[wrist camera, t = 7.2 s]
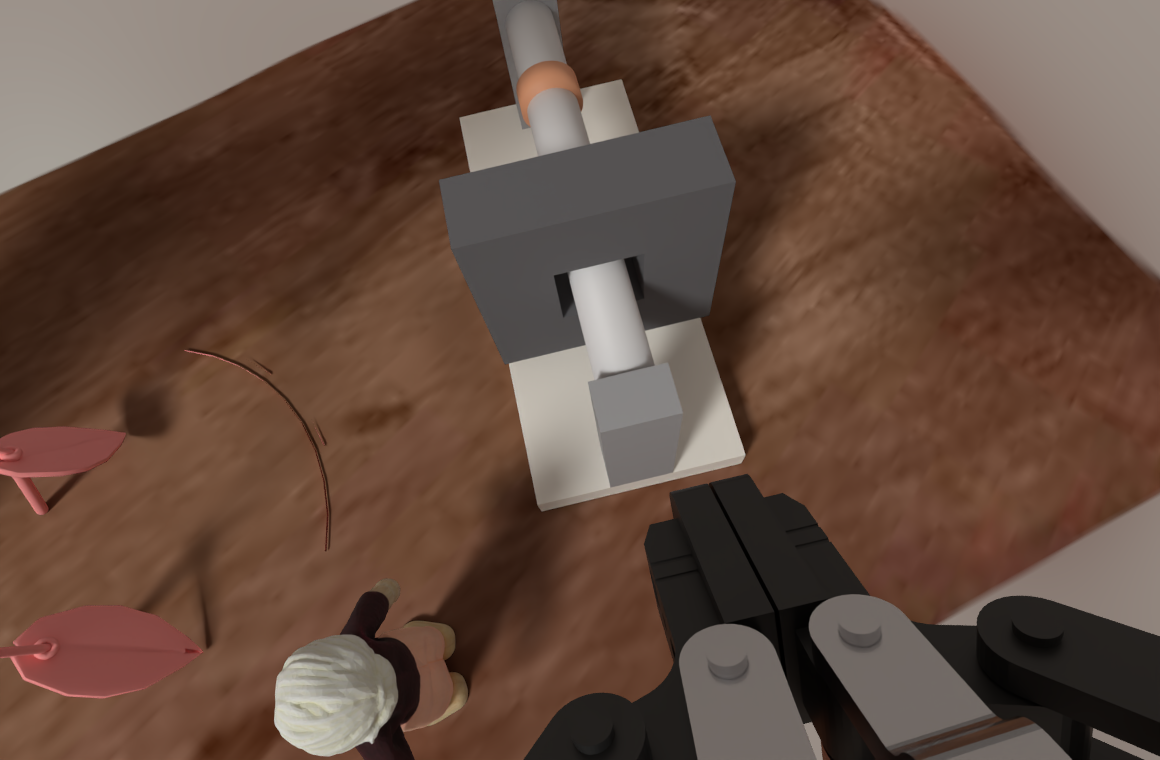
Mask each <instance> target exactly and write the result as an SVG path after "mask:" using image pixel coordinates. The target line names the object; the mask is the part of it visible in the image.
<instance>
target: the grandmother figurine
mask: <svg viewBox="0 0 1160 760" xmlns="http://www.w3.org/2000/svg"><path fill="white" fill-rule="evenodd" d="M399 595H400V586H399V584H398V583H397V582H396V581H395V580H393V579H383V580H381V581H379V582H378V583H377V584H376V586H375V587H374V588H372V589H371V590H370V591H369V592H366V593H364V594H363V595H362V596H361V597H360V599H359V601H358V602H357V604H356V606H355V608H354V610H353V612H352V614H351V616H350V618H349V620H348V622H347V624H346V625H345V627H344V628H343V630H342V632H341V634H340V635H336V636H330V637H327V638H325V639H319V640H315V641H313V642H311V643H309V644H308V645H306V646H305V647H301V648H299V649H298V650H296V651H295V652H294V653H293V654H292V656H290V657H289V658H288V659H287V660H286V662H285V664H284V667H283V670H282V671H281V672H280V673H279V675H278V677H277V682H276V691H275V700H276V705H275V717H274V722H275V725H276V727H277V729H278V730H279V731H280V734H281V735H282V737H283V738H285V739H286V740H287V741H288V742H290V743H291V744H292V745H294V746H296V747H297V748H301V749H304V750H305V751H306V752H308V753H310V754H314V755H319V756H331V755H334V754H340V753H344V752H346V751H348V750H350V749H352V748H354V747H356V749H357V750H358V751H359V753H360V754H361V755H362V757H363V758H364V760H415V759H414V757H413V755H412V752H411V750H410V747H409V745H408V743H407V741H406V739H405V737H404V734H403V732H405V731H410V730H414V729H417V728H422V727H425V726H431V725H433V724H436V723H437V722H439V721H441V720H443V719H444V718H446V717H447V716H449V715H451V714H452V713H454V712H456V711H457V710H459V709H460V708H462V707H463V706H464V704H465V703H466V701H467V698H468V689H467V685H466V682H465V680H464V678H463V676H462V675H460V674H459V673H456V672H448V669H447V666H446V663H445V661H444V660H446V659H448V658H449V657H450V656H451V655H452V654H453V652H454V649H455V634H454V631H453V630H452V628H451V627H450V626H448V625H446V624H441V623H434V622H427V621H412V622H409V623H407V624H406V625H404V626H403V628H401V629H395V630H392V631H388V632H385V633H382V634H381V635H380V636H379V637H378V638H375V633H376V631H377V630H378V629H379V627H380V625H381V624H382V622H383V621H384V619H385V617H386V614H387V613H388V610H389V609H390V608H391V606H392V604H393V603H394V602H396V601H397V599H398V597H399Z"/></svg>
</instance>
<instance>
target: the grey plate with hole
mask: <svg viewBox="0 0 1160 760" xmlns="http://www.w3.org/2000/svg"><path fill="white" fill-rule="evenodd" d="M735 183H736V181H735V178H734V175H733V173H732V170H731V168H730V165H729V162H728V160H727V157H726V155H725V152H724V150H723V147H722V144H721V142H720V139H719V137H718V134H717V131H716V129H715V126H714V124H713V121H712V119H711V116H706V117H702V118H698V119H693V120H689V121H685V122H681V123H677V124H672V125H668V126H664V127H660V128H655V129H651V130H647V131H643V132H639V133H634V134H630V135H626V136H622V137H618V138H613V139H609V140H605V141H601V142H597V143H592V144H588V145H584V146H580V147H576V148H571V149H567V150H563V151H559V152H555V153H550V154H546V155H542V156H538V157H533V158H529V159H525V160H521V161H517V162H512V163H508V164H504V165H500V166H496V167H491V168H487V169H483V170H479V171H475V172H470V173H466V174H462V175H458V176H454V177H449V178H445V179H441V180H439V184H440V189H441V195H442V200H443V206H444V212H445V217H446V223H447V228H448V234H449V240H450V245H451V250H452V252H453V254H454V256H455V258H456V261H457V263H458V265H459V267H460V269H461V271H462V273H463V276H464V278H465V280H466V282H467V284H468V286H469V288H470V291H471V293H472V295H473V297H474V299H475V301H476V303H477V306H478V308H479V310H480V312H481V314H482V316H483V318H484V321H485V323H486V325H487V327H488V329H489V331H490V333H491V336H492V338H493V340H494V342H495V344H496V346H497V348H498V351H499V353H500V355H501V357H502V359H503V361H504V363H505V364H509V363H513V362H517V361H521V360H526V359H530V358H534V357H538V356H542V355H546V354H551V353H555V352H559V351H563V350H567V349H571V348H576V347H580V346H584V345H586V344H585V340H584V336H583V332H582V328H581V324H580V320H579V316H578V312H577V308H576V304H575V301H574V297H573V293H572V289H571V285H570V281H569V277H568V273H567V272H570V271H575V270H579V269H583V268H587V267H591V266H595V265H600V264H604V263H608V262H612V261H616V260H621V259H624V261H625V264H626V268H627V271H628V275H629V278H630V282H631V285H632V288H633V292H634V295H635V299H636V302H637V305H638V309H639V312H640V316H641V319H642V323H643V326H644V329H645V331H646V330H651V329H655V328H659V327H663V326H667V325H671V324H676V323H680V322H684V321H688V320H692V319H696V318H701V317H705V316H709V314H710V309H711V304H712V299H713V294H714V289H715V284H716V279H717V274H718V269H719V264H720V259H721V253H722V248H723V243H724V238H725V233H726V228H727V223H728V218H729V213H730V208H731V203H732V198H733V193H734V188H735Z"/></svg>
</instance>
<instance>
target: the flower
mask: <svg viewBox="0 0 1160 760" xmlns="http://www.w3.org/2000/svg"><path fill="white" fill-rule="evenodd" d="M184 351H187V350H184ZM188 352H192V351H188ZM193 353H197V352H193ZM198 354H202V353H198ZM203 355H207V354H203ZM208 356H212V355H208ZM213 357H215V356H213ZM216 358H217V357H216ZM219 359H220V358H219ZM221 360H223V359H221ZM224 361H225V360H224ZM227 362H228V361H227ZM229 363H231V362H229ZM232 364H233V363H232ZM234 365H236V364H234ZM237 366H238V365H237ZM256 366H257V365H256ZM243 369H244V368H243ZM261 369H262V368H261ZM246 371H247V370H246ZM266 372H267V371H266ZM251 374H252V373H251ZM269 374H270V373H269ZM256 377H257V376H256ZM261 380H262V379H261ZM265 383H266V382H265ZM266 384H267V383H266ZM276 393H277V392H276ZM286 403H287V402H286ZM287 404H288V403H287ZM289 407H290V406H289ZM290 408H291V407H290ZM292 411H293V410H292ZM293 412H294V411H293ZM295 415H296V414H295ZM296 416H297V415H296ZM298 419H299V418H298ZM299 420H300V419H299ZM301 423H302V422H301ZM302 425H303V423H302ZM303 427H304V425H303ZM304 429H305V427H304ZM305 431H306V429H305ZM316 431H317V430H316ZM306 433H307V431H306ZM317 433H318V432H317ZM307 435H308V433H307ZM318 435H319V434H318ZM125 436H126V433H124V432H116V431H109V430H100V429H88V428H76V427H42V428H31V429H26V430H22V431H18V432H14V433H10V434H8V435H6V436H4V437H2V438H0V474H3V475H7V476H12V477H13V479H14V480H15V482H16V483H17V485H18V486H19V488H20V489H21V491H22V492H23V494H24V495H25V497H26V498H27V500H28V501H29V503H30V504H31V506H32V507H33V509H34V510H35V512H36V513H37V514H39V515H43V514H45V513H47V512H48V510H49V508H48V506H47V504H46V503H45V501H44V500H43V498H42V496H41V495H40V493H39V492H38V490H37V488H36V487H35V485H34V484H33V482H32V480H31V479H30V477H50V476H65V475H70V474H75V473H81V472H86V471H89V470H91V469H93V468H95V467H97V466H99V465H101V464H103V463H105V462H107V461H108V460H109V459H110V458H111V456H112V455H113V454H114V453H115V452H116V451H117V450H118V449H119V447H120V446H121V444H122V442H123V440H124V439H125ZM308 437H309V435H308ZM319 437H320V436H319ZM309 439H310V437H309ZM320 439H321V438H320ZM310 441H311V439H310ZM321 441H322V439H321ZM311 443H312V442H311ZM322 443H323V441H322ZM312 445H313V444H312ZM323 445H324V443H323ZM324 446H325V445H324ZM313 447H314V446H313ZM314 449H315V448H314ZM315 452H316V450H315ZM316 456H317V452H316ZM317 459H318V456H317ZM318 463H319V460H318ZM319 466H320V463H319ZM320 470H321V467H320ZM321 474H322V470H321ZM322 477H323V474H322ZM323 481H324V477H323ZM324 490H325V499H326V509H327V526H326V544H325V551H326V549H327V530H328V508H327V498H326V489H325V481H324ZM12 643H13V644H14V645H15V646H13V647H2V648H0V658H4V657H10V658H11V660H12V661H13V663H14V665H15V666H16V668H17V670H18V672H19V673H20V675H21V677H22V678H23V680H25V681H27V682H30V683H33V684H35V685H38V686H40V687H43V688H46V689H48V690H51V691H54V692H56V693H59V694H61V695H64V696H71V697H88V698H107V697H111V696H116V695H120V694H125V693H129V692H134V691H138V690H143V689H146V688H148V687H149V686H150V685H153V684H154V683H156V682H157V681H160V680H161V679H163V678H164V677H167V676H168V675H170V674H171V673H174V672H175V671H177V670H178V669H180V668H182V667H184V666H185V665H187V664H188V663H189V662H191V661H192V660H193V659H195V658H196V657H197V656H199V655H200V654H201V653H203V652H202V651H203V650H201V649H200V648H199V647H198V646H197V645H196V644H195V643H194V642H193V641H192V640H191V639H190V638H189V637H187V636H186V635H184V634H183V633H181V632H180V631H179V630H177V629H176V628H174V627H173V626H171V625H170V624H168V623H167V622H166V621H164V620H163V619H161V618H160V617H158V616H157V615H153V614H150V613H146V612H142V611H139V610H135V609H131V608H128V607H124V606H120V605H116V606H82V607H79V608H75V609H71V610H67V611H64V612H60V613H56V614H53V615H49V616H45V617H42V618H39V619H38V620H37V621H36V622H34V623H33V624H32V625H31V626H30V627H29V628H28V629H27V630H26V631H24V632H23V633H22V634H21V635H20V636H19V637H18V638H17V639H16V640H14V641H13V642H12Z"/></svg>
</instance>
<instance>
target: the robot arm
mask: <svg viewBox="0 0 1160 760" xmlns="http://www.w3.org/2000/svg"><path fill="white" fill-rule="evenodd" d="M670 502H671V507H672V512H673V518H674V519H672V520H668V521H664V522H659V523H655V524H651V525H650V526H649V530H648V533H647V536H646V539H645V543H644V546H645V551H646V555H647V560H648V565H649V569H650V574H651V579H652V583H653V588H654V593H655V597H656V602H657V607H658V610H659V614H660V617H661V621H662V624H663V627H664V630H665V634H666V638H667V641H668V645H669V648H670V651H671V655H672V658H673V662H674V664H673V667H672V669H671V671H670V673H669V674H668V676H667V678H666V679H665V680H664V681H663V682H662V683H661V684H660V685H659V686H658V687H657V688H656V689H655V690H653V691H652V692H650V693H649V694H647V695H645V696H644V697H642V698H640V699H638V700H637V701H635V702H633V703H631V702H630V701H628V700H627V699H625V698H623V697H621V696H619V695H615V694H610V693H593V694H588V695H585V696H582V697H579V698H577V699H575V700H573V701H571V702H569V703H568V704H567V705H565V706H564V707H563V708H562V709H560V710H559V711H558V712H557V713H556V715H555V716H554V717H553V718H552V720H551V721H550V723H549V724H548V725H547V727H546V728H545V730H544V731H543V733H542V734H541V735H540V737H539V738H538V740H537V741H536V743H535V744H534V745H533V747H532V748H531V750H530V751H529V753H528V754H527V755H526V757H525V758H524V760H816V757H815V754H814V752H813V749H812V746H811V744H810V741H809V738H808V736H807V733H806V730H805V728H804V725H803V724H805V723H809V722H812V723H813V725H814V727H815V729H816V731H817V733H818V735H819V737H820V739H821V747H822V757H823V760H1144V759H1141V758H1139V757H1137V756H1134V755H1132V754H1130V753H1127V752H1125V751H1123V750H1121V749H1118V748H1116V747H1114V746H1111V745H1109V744H1107V743H1105V742H1102V741H1100V740H1098V739H1095V738H1093V737H1092V733H1093V728H1095V729H1097V730H1099V731H1102V732H1104V733H1106V734H1109V735H1111V736H1113V737H1116V738H1118V739H1120V740H1123V741H1125V742H1127V743H1130V744H1132V745H1135V746H1137V747H1139V748H1141V749H1144V750H1146V751H1148V752H1151V753H1154V754H1155V755H1158V756H1160V636H1157V635H1154V634H1151V633H1148V632H1145V631H1142V630H1139V629H1136V628H1133V627H1130V626H1127V625H1124V624H1120V623H1118V622H1115V621H1112V620H1109V619H1105V618H1102V617H1099V616H1096V615H1093V614H1090V613H1087V612H1084V611H1081V610H1078V609H1075V608H1072V607H1069V606H1066V605H1063V604H1060V603H1057V602H1054V601H1050V600H1047V599H1043V598H1038V597H1031V596H1009V597H1003V598H1000V599H996V600H994V601H992V602H990V603H988V604H987V605H986V606H984V607H983V609H982V610H981V611H980V613H979V615H978V617H977V626H963V625H962V626H961V625H931V624H923V623H917V622H913V621H910V620H909V619H908V618H907V617H906V616H905V614H903V613H902V612H901V611H900V610H899V609H898V608H897V607H895V606H894V605H892V604H890V603H888V602H886V601H884V600H882V599H879V598H876V597H872V596H870V595H869V593H868V592H867V591H866V589H865V588H864V587H863V585H862V584H861V582H860V581H859V580H858V578H857V577H856V576H855V574H854V573H853V571H852V570H851V569H850V567H849V566H848V565H847V563H846V562H845V561H844V559H843V558H842V556H841V555H840V554H839V552H838V551H837V550H836V548H835V547H834V545H833V544H832V543H831V542H829V540H828V537H827V536H826V534H825V533H824V532H823V530H822V529H821V528H820V527H818V523H817V522H816V521H815V519H814V518H813V517H812V515H811V514H810V512H809V511H808V510H807V508H806V507H805V506H804V505H802V504H801V503H799V502H797V501H795V500H794V499H792V498H790V497H788V496H787V495H785V494H783V493H781V494H777V495H773V496H769V497H763V496H762V494H761V493H760V491H759V490H758V488H757V486H756V485H755V483H754V482H753V480H752V479H751V477H750V476H749V475H748V474H745V475H740V476H736V477H732V478H728V479H723V480H719V481H715V482H711V483H709V485H708V484H703V485H699V486H694V487H690V488H686V489H682V490H677V491H673V492H670Z"/></svg>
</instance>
